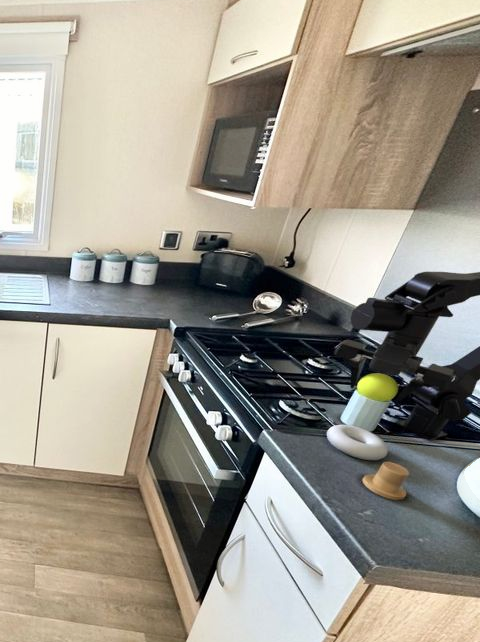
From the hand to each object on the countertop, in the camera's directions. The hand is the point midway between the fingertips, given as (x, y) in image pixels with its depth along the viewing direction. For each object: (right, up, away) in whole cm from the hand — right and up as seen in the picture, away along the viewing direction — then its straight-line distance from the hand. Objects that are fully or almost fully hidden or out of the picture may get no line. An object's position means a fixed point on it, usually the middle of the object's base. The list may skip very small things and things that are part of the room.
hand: (373, 395), depth 94 cm
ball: (0, +2, -1) cm, 2 cm away
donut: (-9, -11, -5) cm, 15 cm away
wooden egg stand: (-13, -16, -15) cm, 26 cm away
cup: (0, -7, +4) cm, 8 cm away
